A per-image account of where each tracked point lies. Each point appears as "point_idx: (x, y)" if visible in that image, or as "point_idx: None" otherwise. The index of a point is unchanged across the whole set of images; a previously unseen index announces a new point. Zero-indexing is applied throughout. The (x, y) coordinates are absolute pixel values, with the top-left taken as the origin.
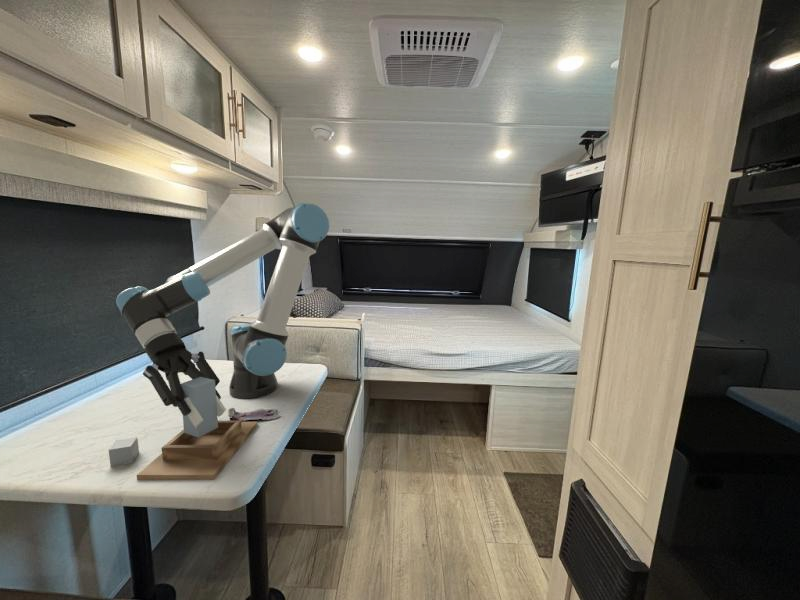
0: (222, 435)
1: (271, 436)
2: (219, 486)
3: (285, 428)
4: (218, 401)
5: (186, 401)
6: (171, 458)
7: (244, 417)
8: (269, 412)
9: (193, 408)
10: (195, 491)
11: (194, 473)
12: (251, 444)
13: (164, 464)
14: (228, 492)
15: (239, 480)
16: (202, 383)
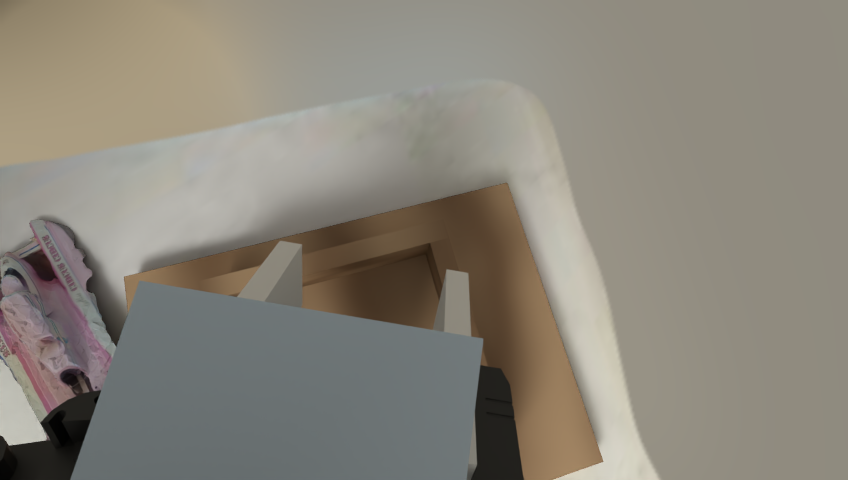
0: None
1: (223, 162)
2: (523, 150)
3: (151, 142)
4: (260, 291)
5: (472, 439)
6: None
7: (92, 367)
8: (20, 271)
9: None
10: (563, 201)
11: (524, 250)
12: (294, 202)
13: (521, 413)
14: (534, 109)
15: (483, 112)
16: (310, 362)
